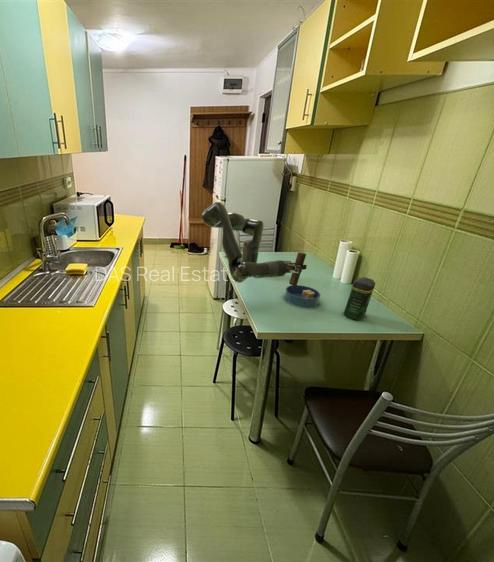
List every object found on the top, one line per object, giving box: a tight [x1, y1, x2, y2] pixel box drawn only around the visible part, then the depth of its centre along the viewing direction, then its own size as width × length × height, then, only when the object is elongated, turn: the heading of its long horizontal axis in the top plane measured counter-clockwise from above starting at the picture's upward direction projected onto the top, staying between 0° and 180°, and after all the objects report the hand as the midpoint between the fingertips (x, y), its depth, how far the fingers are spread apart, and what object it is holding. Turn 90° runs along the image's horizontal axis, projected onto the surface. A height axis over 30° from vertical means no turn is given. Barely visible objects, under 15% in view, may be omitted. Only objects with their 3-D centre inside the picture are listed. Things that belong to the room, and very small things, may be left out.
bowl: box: [283, 284, 321, 308], centre depth 154 cm, size 16×16×5 cm
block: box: [302, 290, 315, 299], centre depth 155 cm, size 4×4×4 cm
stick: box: [288, 251, 307, 286], centre depth 144 cm, size 3×3×16 cm
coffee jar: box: [343, 276, 376, 321], centre depth 138 cm, size 10×8×19 cm
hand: (303, 265), depth 145 cm, fingers closed on stick, 2 cm apart
